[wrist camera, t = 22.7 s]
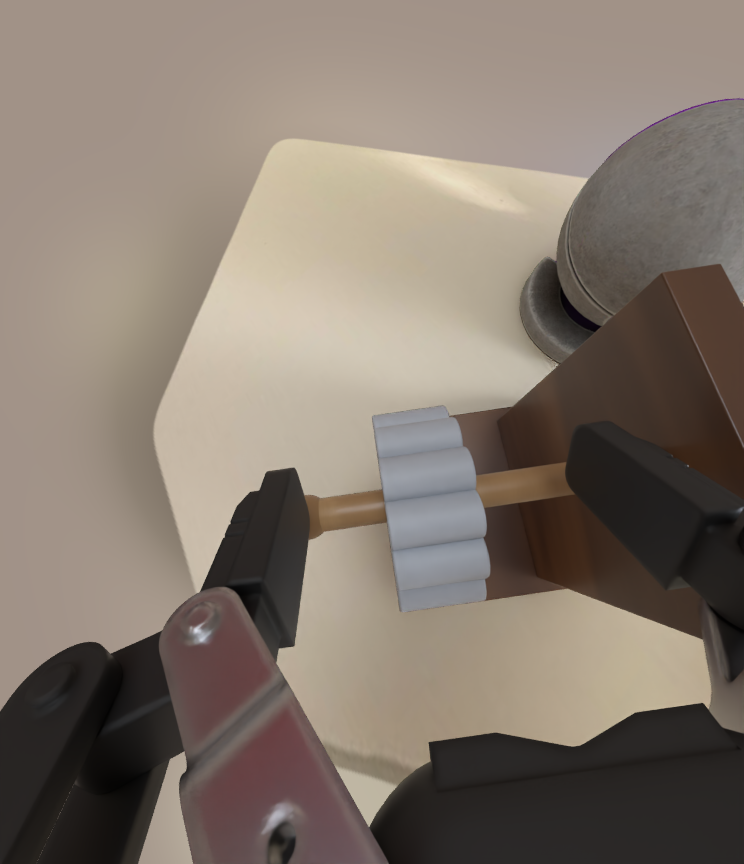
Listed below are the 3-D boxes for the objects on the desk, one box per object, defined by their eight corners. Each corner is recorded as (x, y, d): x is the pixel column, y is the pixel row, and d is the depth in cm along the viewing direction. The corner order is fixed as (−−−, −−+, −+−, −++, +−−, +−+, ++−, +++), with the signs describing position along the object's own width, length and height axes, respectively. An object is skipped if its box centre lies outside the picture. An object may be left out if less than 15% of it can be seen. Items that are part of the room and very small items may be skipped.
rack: (544, 406, 28) (797, 224, 11) (597, 578, 24) (1110, 721, 7) (332, 438, 28) (246, 308, 11) (351, 614, 25) (268, 842, 7)
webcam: (652, 258, 32) (875, 38, 17) (674, 378, 28) (973, 230, 14) (516, 255, 32) (620, 42, 18) (523, 371, 29) (656, 225, 15)
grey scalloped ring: (397, 592, 16) (405, 648, 9) (375, 441, 19) (367, 384, 11) (455, 584, 16) (513, 632, 9) (426, 434, 19) (453, 372, 11)
